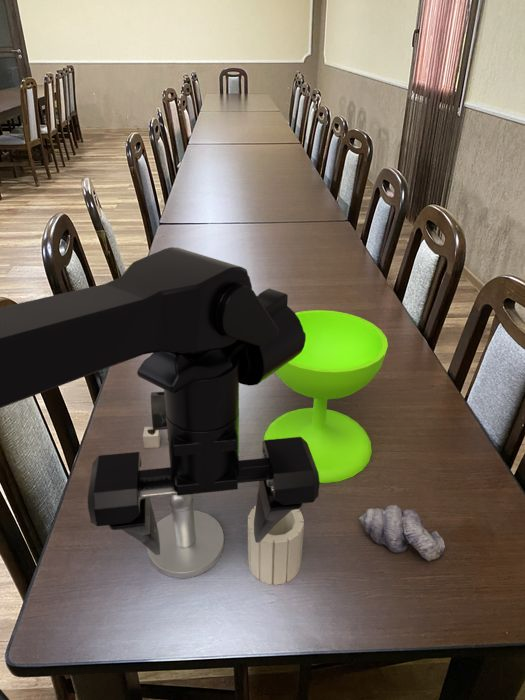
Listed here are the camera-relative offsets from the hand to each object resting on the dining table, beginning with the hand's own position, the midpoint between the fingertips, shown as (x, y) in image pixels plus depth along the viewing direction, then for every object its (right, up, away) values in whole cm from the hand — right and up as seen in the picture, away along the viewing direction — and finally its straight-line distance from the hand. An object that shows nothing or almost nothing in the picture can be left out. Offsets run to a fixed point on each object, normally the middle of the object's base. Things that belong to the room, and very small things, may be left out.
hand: (208, 544), depth 50 cm
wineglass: (+13, +4, +29) cm, 32 cm away
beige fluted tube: (+6, -6, +12) cm, 15 cm away
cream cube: (-11, +4, +29) cm, 32 cm away
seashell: (+21, -5, +14) cm, 26 cm away
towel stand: (-4, -5, +14) cm, 15 cm away
